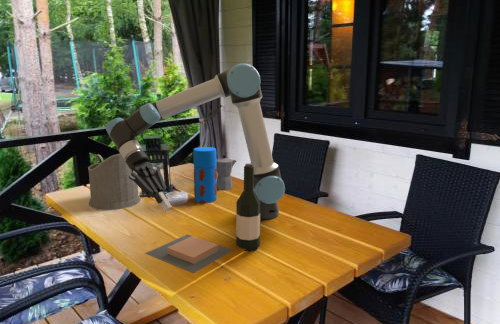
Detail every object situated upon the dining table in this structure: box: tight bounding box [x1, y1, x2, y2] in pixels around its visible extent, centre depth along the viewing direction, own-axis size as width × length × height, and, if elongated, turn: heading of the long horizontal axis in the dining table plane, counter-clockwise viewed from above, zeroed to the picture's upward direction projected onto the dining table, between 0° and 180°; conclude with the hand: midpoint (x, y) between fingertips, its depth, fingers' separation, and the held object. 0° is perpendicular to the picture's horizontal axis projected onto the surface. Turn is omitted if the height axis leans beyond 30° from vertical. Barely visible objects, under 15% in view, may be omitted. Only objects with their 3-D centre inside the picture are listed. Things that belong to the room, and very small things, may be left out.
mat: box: [144, 234, 234, 274], centre depth 133 cm, size 22×20×1 cm
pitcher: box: [87, 153, 142, 211], centre depth 185 cm, size 23×32×25 cm
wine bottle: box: [235, 163, 261, 252], centre depth 136 cm, size 8×8×30 cm
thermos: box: [193, 146, 218, 204], centre depth 187 cm, size 11×11×25 cm
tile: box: [167, 235, 219, 264], centre depth 132 cm, size 2×12×12 cm
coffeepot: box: [216, 154, 237, 191], centre depth 208 cm, size 15×9×18 cm, turn 103°
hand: (168, 209), depth 135 cm, fingers closed
